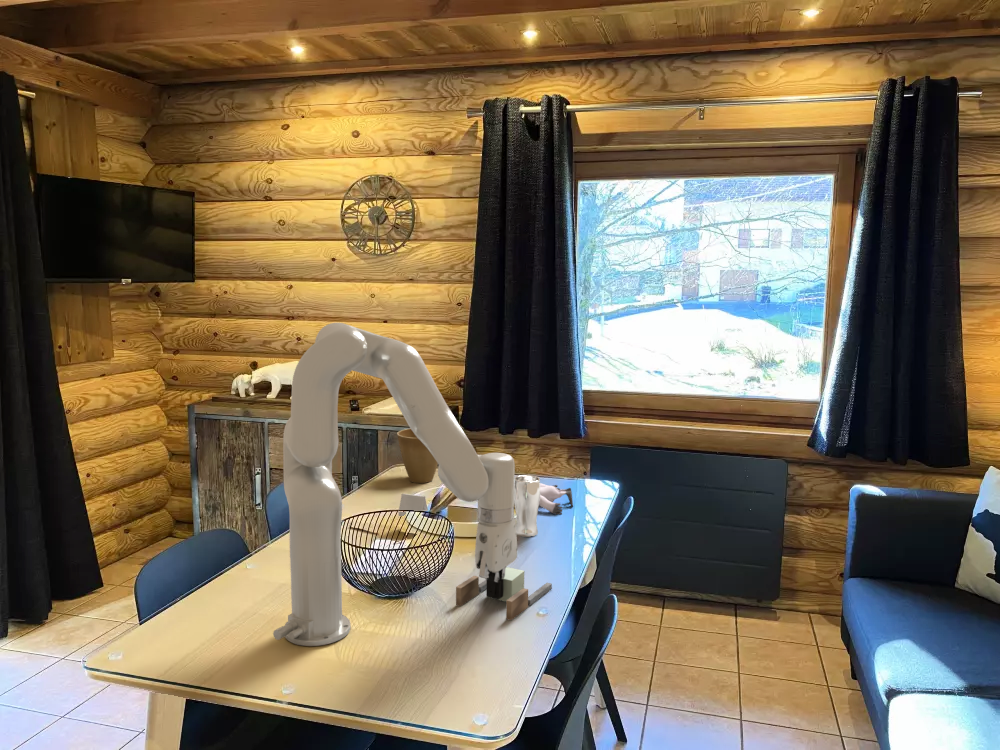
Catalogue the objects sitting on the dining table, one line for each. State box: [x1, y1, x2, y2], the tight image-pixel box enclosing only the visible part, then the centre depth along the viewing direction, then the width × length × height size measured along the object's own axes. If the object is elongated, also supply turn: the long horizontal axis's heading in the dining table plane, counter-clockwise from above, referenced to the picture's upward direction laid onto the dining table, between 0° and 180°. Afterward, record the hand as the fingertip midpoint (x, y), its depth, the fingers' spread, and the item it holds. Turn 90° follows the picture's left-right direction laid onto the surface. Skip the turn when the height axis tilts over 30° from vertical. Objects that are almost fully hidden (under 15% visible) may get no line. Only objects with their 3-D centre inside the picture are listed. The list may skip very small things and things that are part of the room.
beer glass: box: [514, 474, 541, 538], centre depth 207 cm, size 7×7×15 cm
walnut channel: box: [455, 575, 529, 621], centre depth 164 cm, size 7×13×4 cm, turn 59°
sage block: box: [488, 566, 525, 602], centre depth 170 cm, size 6×6×5 cm
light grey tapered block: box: [398, 493, 429, 517], centre depth 208 cm, size 4×7×10 cm, turn 70°
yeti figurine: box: [539, 482, 574, 515], centre depth 234 cm, size 20×7×20 cm
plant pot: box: [396, 428, 439, 484], centre depth 255 cm, size 15×15×16 cm
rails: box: [479, 579, 553, 606], centre depth 173 cm, size 10×13×1 cm
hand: (494, 596), depth 165 cm, fingers closed
